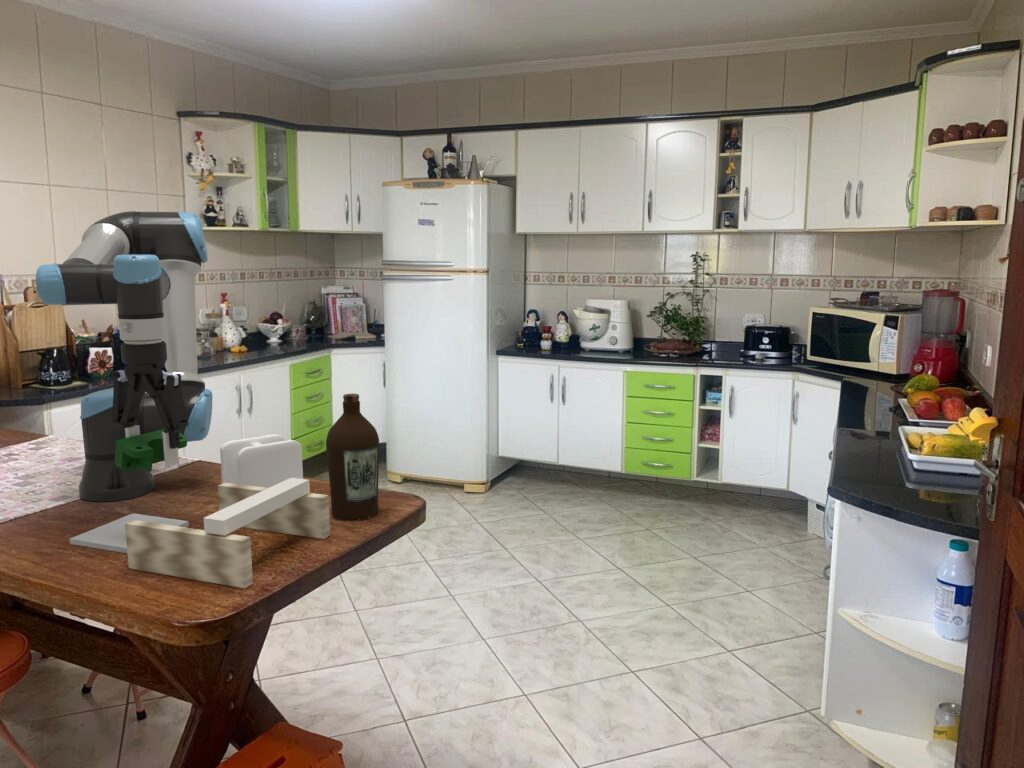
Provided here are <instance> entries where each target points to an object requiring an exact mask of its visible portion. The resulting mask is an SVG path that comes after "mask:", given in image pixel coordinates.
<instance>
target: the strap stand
mask: <svg viewBox="0 0 1024 768" xmlns="http://www.w3.org/2000/svg"><path fill="white" fill-rule="evenodd" d="M266 489H268V488H265V487H257V486H249V485H240V484H232V483H222V482H221V483H220V484H218V485H217V497H218V511H220V510H222V509H224V508H226V507H228V506H231V505H233V504H235V503H237V502H239V501H242V500H244V499H246V498H248V497H250V496H252V495H255V494H257V493H259V492H261V491H263V490H266ZM330 523H331V522H330V496H329V495H328V494H321V493H314V492H313V493H312V492H310V493H308V494H306V495H304V496H302V497H300V498H298V499H296V500H294V501H292V502H290V503H288V504H286V505H284V506H282V507H280V508H278V509H276V510H274V511H272V512H270V513H268V514H266V515H264V516H262V517H260V518H258V519H256V520H254V521H252V522H250V523H248V524H246V525H244V526H242V527H241V528H246V529H252V530H259V531H265V532H272V533H273V532H274V533H278V534H279V533H281V534H287V535H294V536H299V535H300V537H306V536H307V537H308V538H313V537H314V538H315V539H320V538H321V540H322V539H323V540H326V539H327V538H329V537H330V536H331V525H330ZM125 530H126V541H127V553H126V554H127V561H128V569H132V570H138V571H143V572H148V573H153V574H154V573H155V574H161V575H166V576H171V577H177V578H183V579H188V580H194V581H200V582H207V583H212V584H218V585H224V586H229V587H233V588H234V587H236V588H240V589H246V588H249V587H250V586H251V585H253V584H254V581H253V580H254V577H253V576H254V575H253V561H252V546H251V545H252V544H251V543H252V542H251V537H250V536H245V535H239V534H232V533H229V534H227V535H225V536H224V535H218V534H211V533H205V532H204V529H199V528H192V527H179V526H173V525H166V524H159V523H152V522H146V521H139V520H133V521H130V522H128V523H125ZM328 536H329V537H328ZM314 538H313V539H314Z"/></svg>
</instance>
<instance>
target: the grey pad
mask: <svg viewBox="0 0 1024 768" xmlns="http://www.w3.org/2000/svg"><path fill="white" fill-rule="evenodd" d="M133 520H139V521H146V522H152V523H159V524H166V525H173V526H179V527H186V528H189V527H190V521H188V520H182V519H175V518H167V517H162V516H155V515H149V514H148V515H147V514H140V513H134V512H133V513H130V514H128V515H125V516H123V517H120V518H118V519H115V520H113V521H110V522H108V523H105V524H103V525H100V526H99V527H98V526H97V527H96V528H93V529H91V530H87V531H86V532H83V533H80V534H77V535H75V536H73V537H70V538H69V544H70V545H76V546H80V547H86V546H87V547H86V548H92V549H97V550H98V549H99V550H104V551H105V550H106V551H110V552H116V553H122V554H128V553H127V541H126V530H125V523H128V522H130V521H133Z"/></svg>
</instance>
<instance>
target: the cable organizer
mask: <svg viewBox="0 0 1024 768" xmlns="http://www.w3.org/2000/svg"><path fill="white" fill-rule="evenodd" d="M219 448H220V449H219V452H220V453H219V455H220V471H221V472H220V473H221V484H222V483H232V484H240V485H249V486H257V487H265V488H270V487H272V486H274V485H276V484H279V483H281V482H283V481H285V480H287V479H290V478H298V479H304V471H303V468H304V467H303V450H302V448H303V447H302V444H301V443H300V442H298V441H296V440H294V439H288V440H287V439H286V438H285V437H284V436H282V435H280V434H277V433H273V434H265V435H260V436H254V437H247V438H246V437H245V438H241V439H234V440H229V441H225V442H224V443H223V444H222V445H221V446H220V447H219Z"/></svg>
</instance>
